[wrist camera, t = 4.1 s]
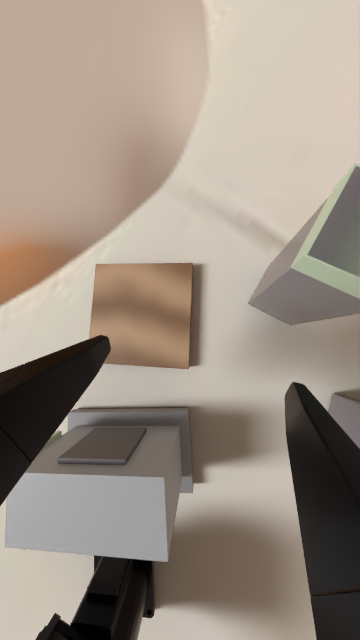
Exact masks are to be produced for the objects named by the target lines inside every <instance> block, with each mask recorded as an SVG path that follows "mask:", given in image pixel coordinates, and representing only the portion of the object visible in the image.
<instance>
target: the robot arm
mask: <svg viewBox="0 0 360 640" xmlns="http://www.w3.org/2000/svg"><path fill="white" fill-rule="evenodd" d="M110 351H111V346H110V341H109V338H108V337H107V336H104V335H99V336H96V337H93V338H91V339H88V340H86V341H83V342H80V343H78V344H75V345H72V346H70V347H67V348H65V349H62V350H59V351H57V352H54V353H52V354H49V355H46V356H44V357H41V358H38V359H36V360H33V361H31V362H28V363H25V364H23V365H20V366H17V367H15V368H12V369H9V370H7V371H4V372H1V373H0V506H1V504H2V503H3V502H4V500H5V499H6V498H7V496H8V495H9V493H10V492H11V491H12V489H13V488H14V487H15V485H16V484H17V483H18V481H19V480H20V479H21V477H22V476H23V474H24V473H25V472H26V470H27V469H28V468H29V466H30V465H31V464H32V462H33V461H34V459H35V458H36V457H37V455H38V454H39V453H40V451H41V450H42V449H43V447H44V446H45V444H46V443H47V442H48V440H49V439H50V438H51V436H52V435H53V434H54V432H55V431H56V430H57V428H58V427H59V425H60V424H61V423H62V421H63V420H64V419H65V417H66V416H67V415H68V413H69V412H70V411H71V409H72V408H73V406H74V405H75V404H76V402H77V401H78V400H79V398H80V397H81V396H82V394H83V393H84V392H85V390H86V389H87V387H88V386H89V385H90V383H91V382H92V381H93V379H94V378H95V376H96V375H97V373H98V372H99V370H100V368H101V367H102V365H103V363H104V362H105V360H106V358H107V357H108V355H109V353H110ZM285 422H286V438H287V445H288V452H289V458H290V465H291V471H292V478H293V485H294V491H295V498H296V504H297V511H298V518H299V524H300V531H301V537H302V544H303V550H304V557H305V564H306V570H307V577H308V583H309V590H310V595H311V604H312V611H313V617H314V624H315V631H316V637H317V640H360V448H359V447H358V446H357V445H356V444H355V443H354V442H353V440H352V439H351V438H350V437H349V436H348V435H347V433H346V432H345V431H344V430H343V429H342V428H341V427H340V425H339V424H338V423H337V422H336V421H335V420H334V418H333V417H332V416H331V415H330V414H329V413H328V412H327V410H326V409H325V408H324V407H323V406H322V405H321V403H320V402H319V401H318V400H317V399H316V398H315V397H314V395H313V394H312V393H311V392H310V391H309V390H308V389H307V387H306V386H305V385H303V384H300V383H296V382H292V383H291V385H290V387H289V389H288V390H287V392H286V394H285ZM154 611H155V590H154V564H153V561H150V560H140V559H129V558H118V557H107V556H96V555H94V575H93V577H92V579H91V581H90V583H89V585H88V587H87V591H86V593H85V595H84V597H83V599H82V601H81V603H80V606H79V608H78V610H77V612H76V614H75V616H74V618H73V620H72V623H71V626H70V625H69V624H67V623H66V622H64V621H63V620H61V619H60V617H61V616H59V615H58V614H56V613H55V614H54V616H53V617H52V619H51V620H50V622H49V624H48V625H47V626H45V627H44V629H43V630H42V631H41V632H40V633H39V634H38V636H37V638H36V640H137V638H138V634H139V630H140V625H141V621H142V617H146V618H152V617H153V616H154Z"/></svg>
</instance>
